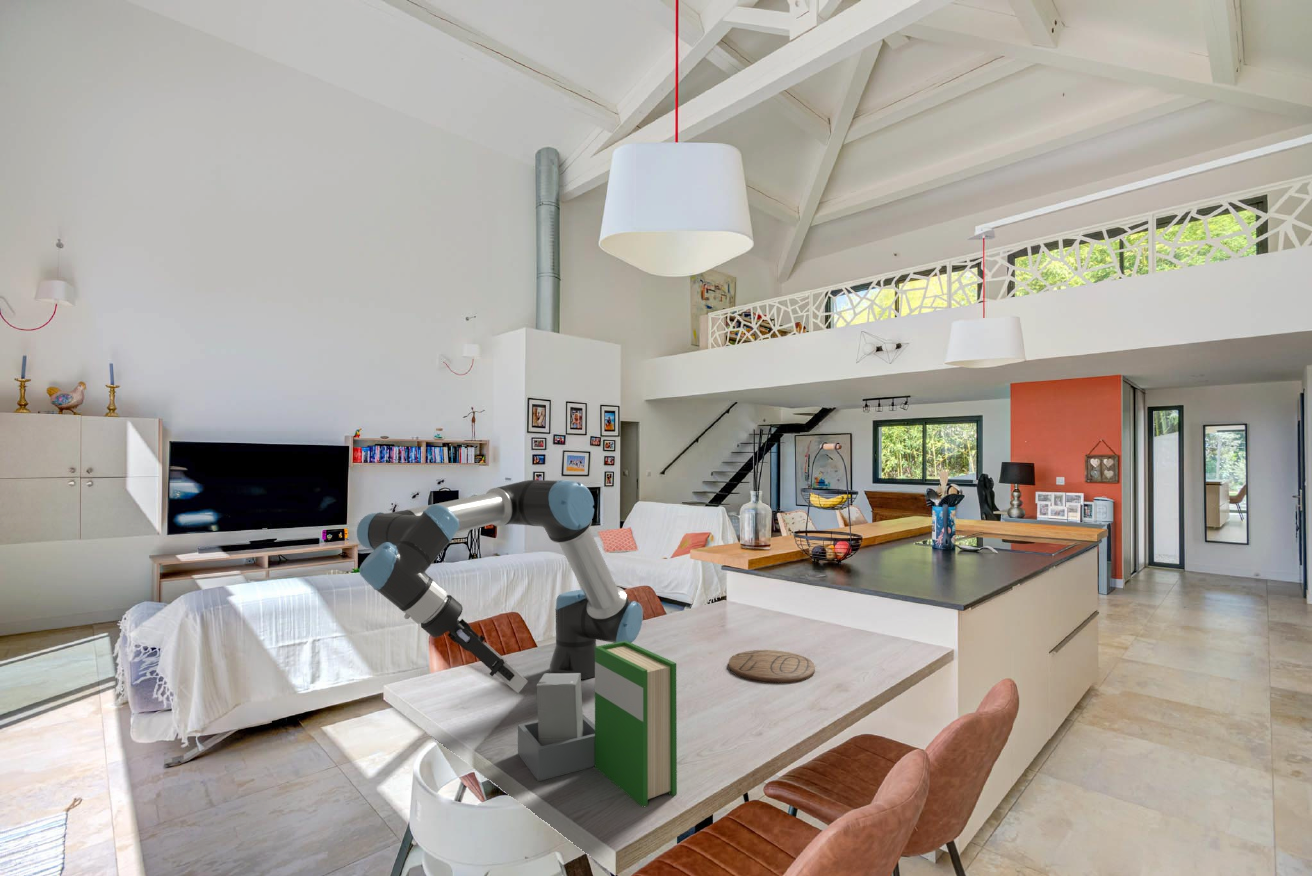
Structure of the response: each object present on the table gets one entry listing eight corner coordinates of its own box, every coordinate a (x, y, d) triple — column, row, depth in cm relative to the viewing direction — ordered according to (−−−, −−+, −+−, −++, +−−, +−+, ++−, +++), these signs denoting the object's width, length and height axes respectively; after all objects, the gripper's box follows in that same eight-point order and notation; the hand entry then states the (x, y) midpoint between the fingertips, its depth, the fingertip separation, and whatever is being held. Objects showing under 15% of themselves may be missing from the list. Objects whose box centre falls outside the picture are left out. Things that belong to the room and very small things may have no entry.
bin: (517, 753, 132) (517, 724, 132) (579, 738, 139) (579, 711, 139) (538, 781, 120) (538, 749, 120) (604, 763, 127) (604, 733, 127)
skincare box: (583, 746, 132) (584, 671, 133) (577, 763, 125) (577, 683, 126) (544, 745, 133) (544, 670, 134) (535, 761, 126) (535, 682, 126)
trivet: (721, 679, 176) (721, 672, 176) (736, 653, 200) (736, 647, 200) (812, 688, 169) (812, 681, 169) (817, 660, 193) (817, 654, 193)
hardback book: (676, 794, 116) (676, 663, 116) (643, 807, 111) (643, 671, 112) (626, 757, 130) (626, 640, 131) (594, 767, 126) (594, 646, 127)
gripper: (408, 611, 127) (482, 673, 134) (431, 642, 106) (517, 714, 113) (436, 582, 130) (506, 644, 137) (463, 607, 108) (546, 679, 115)
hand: (511, 676), depth 125 cm, fingers open, 13 cm apart
